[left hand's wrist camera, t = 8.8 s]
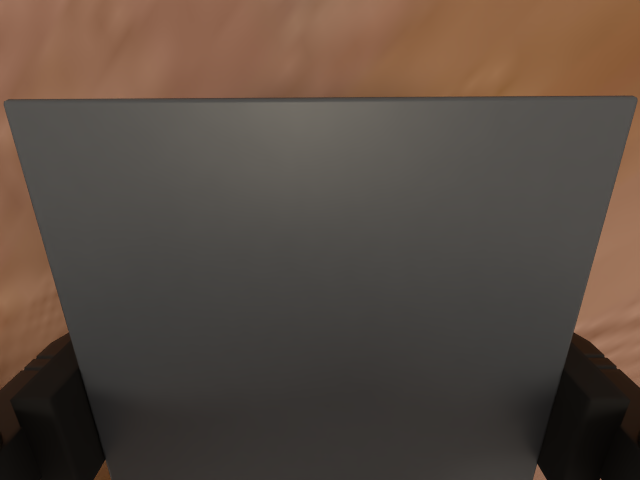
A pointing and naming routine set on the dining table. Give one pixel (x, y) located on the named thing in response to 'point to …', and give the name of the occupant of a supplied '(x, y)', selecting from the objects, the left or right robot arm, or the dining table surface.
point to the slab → (321, 275)
